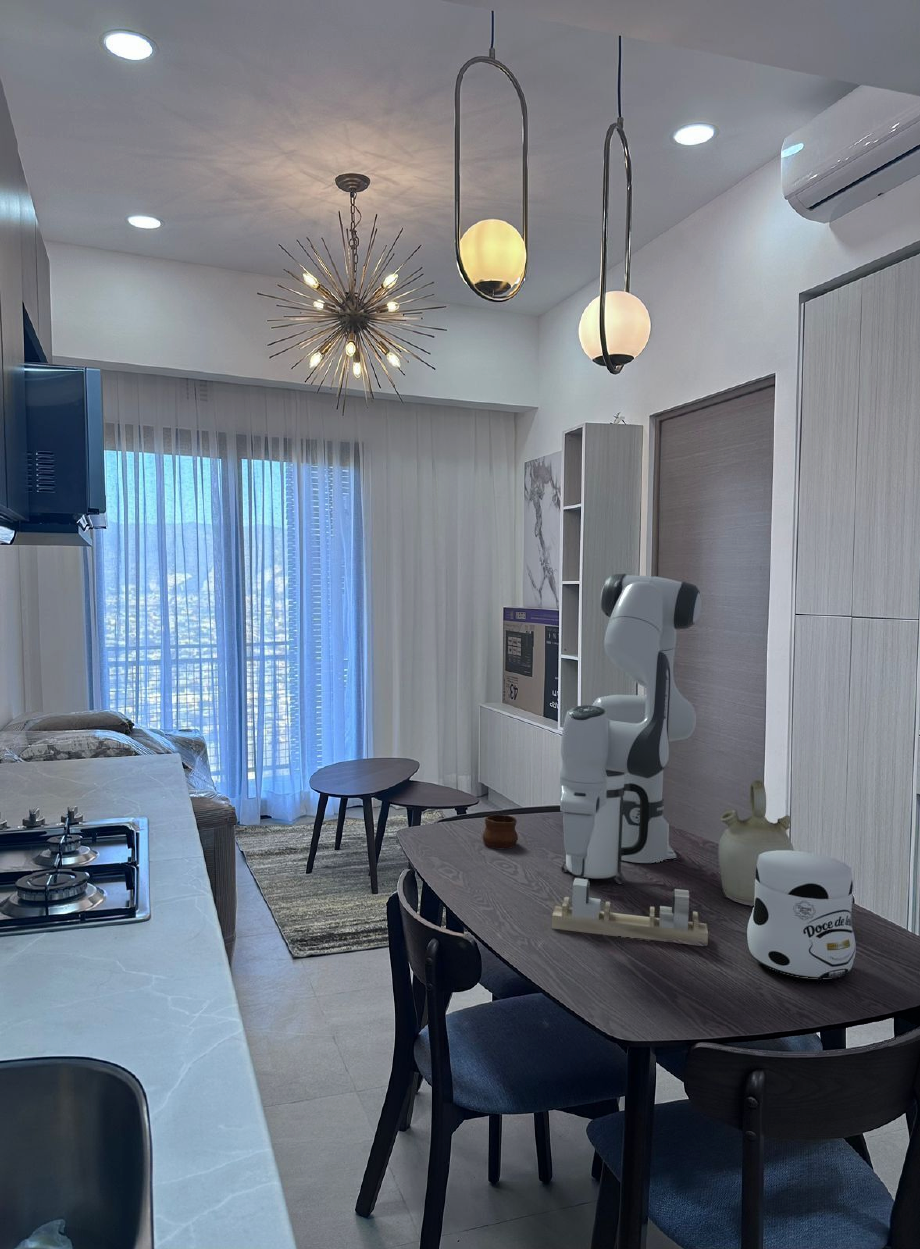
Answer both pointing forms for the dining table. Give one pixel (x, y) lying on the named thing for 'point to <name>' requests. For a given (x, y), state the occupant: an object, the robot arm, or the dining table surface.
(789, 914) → the milk container
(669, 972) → the dining table surface
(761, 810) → the jug
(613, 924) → the rail
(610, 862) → the coffee press
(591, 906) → the grey block
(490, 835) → the ceramic pot
